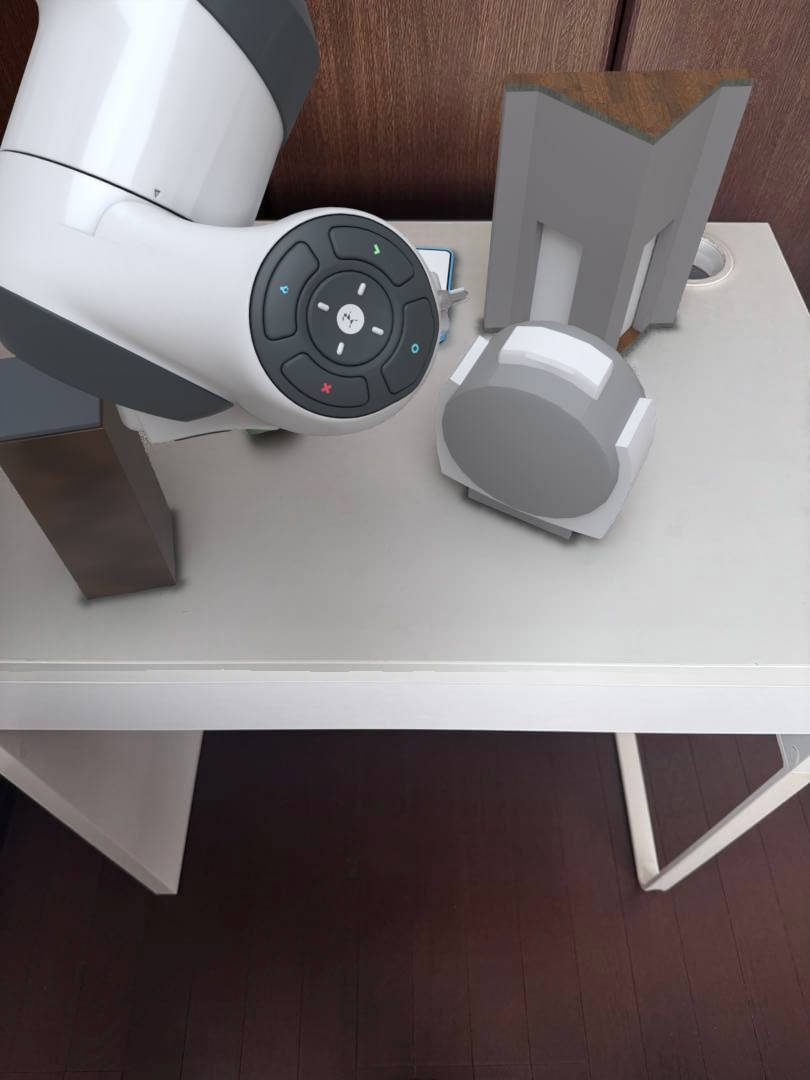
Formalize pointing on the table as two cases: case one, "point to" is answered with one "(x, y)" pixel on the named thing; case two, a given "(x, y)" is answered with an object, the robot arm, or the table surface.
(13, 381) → the mat
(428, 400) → the table surface
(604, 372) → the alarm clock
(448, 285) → the smartphone
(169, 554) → the pedestal
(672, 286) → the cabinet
